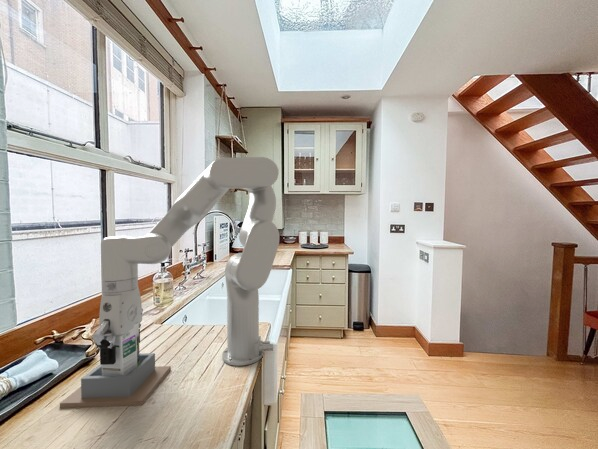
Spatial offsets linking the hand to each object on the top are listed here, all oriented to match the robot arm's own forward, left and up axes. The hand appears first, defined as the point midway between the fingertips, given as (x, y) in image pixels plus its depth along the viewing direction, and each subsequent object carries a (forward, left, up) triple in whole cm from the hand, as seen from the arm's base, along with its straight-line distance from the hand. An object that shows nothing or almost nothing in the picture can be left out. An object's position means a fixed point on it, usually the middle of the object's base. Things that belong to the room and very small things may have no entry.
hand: (121, 353), depth 65 cm
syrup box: (0, 0, -8) cm, 8 cm away
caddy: (0, 0, -8) cm, 8 cm away
